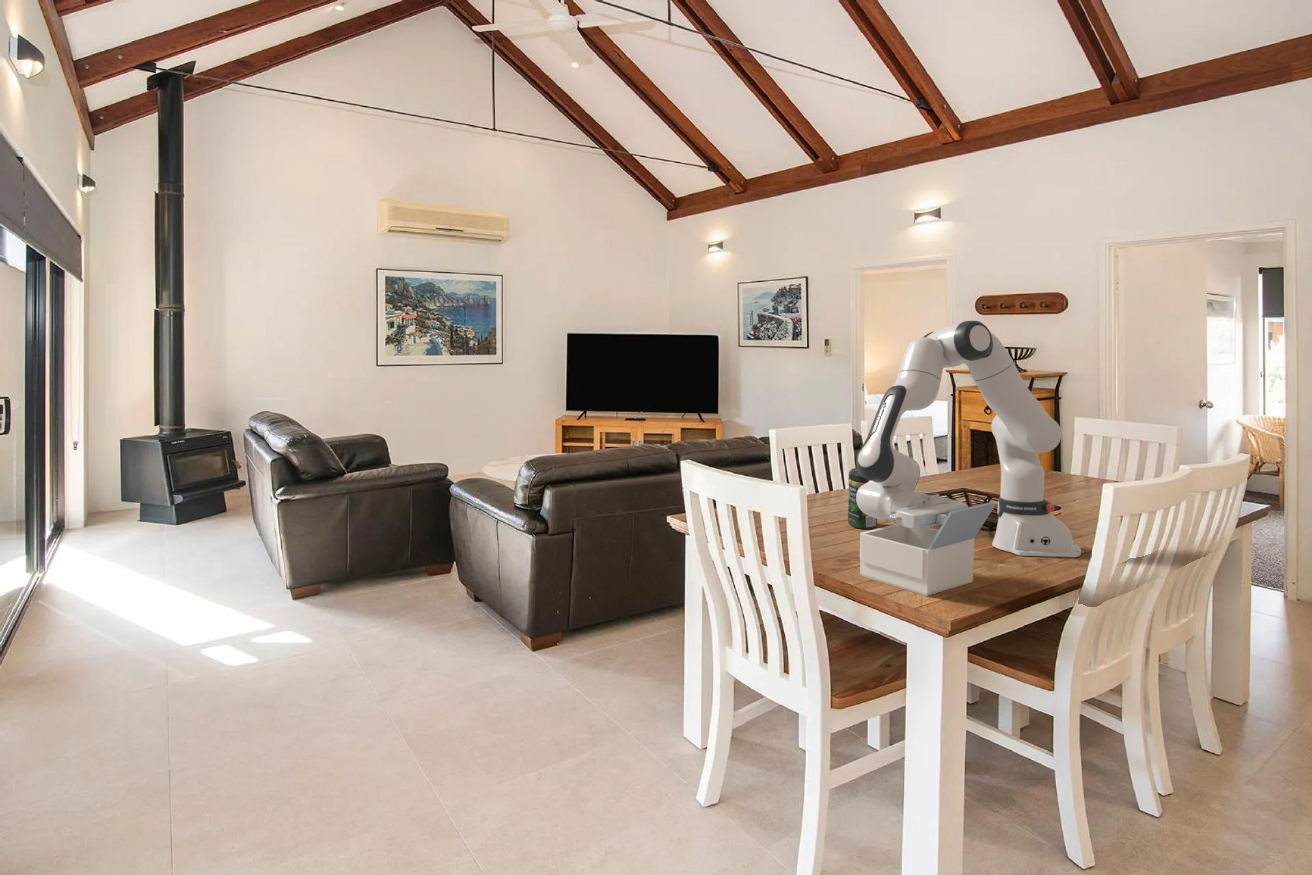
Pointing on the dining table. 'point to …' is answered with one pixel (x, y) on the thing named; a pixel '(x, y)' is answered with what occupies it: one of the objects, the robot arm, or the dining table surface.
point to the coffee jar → (854, 513)
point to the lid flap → (962, 525)
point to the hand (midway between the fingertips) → (961, 521)
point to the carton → (915, 560)
